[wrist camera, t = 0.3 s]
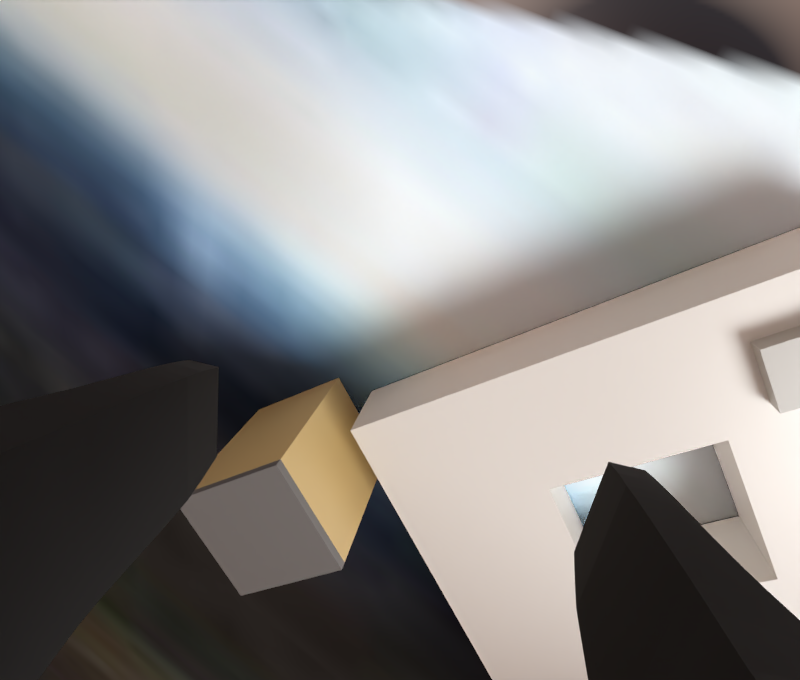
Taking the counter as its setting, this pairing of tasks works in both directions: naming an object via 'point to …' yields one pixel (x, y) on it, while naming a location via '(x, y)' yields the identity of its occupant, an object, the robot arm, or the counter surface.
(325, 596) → the counter surface
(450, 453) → the socket plate
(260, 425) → the plug
